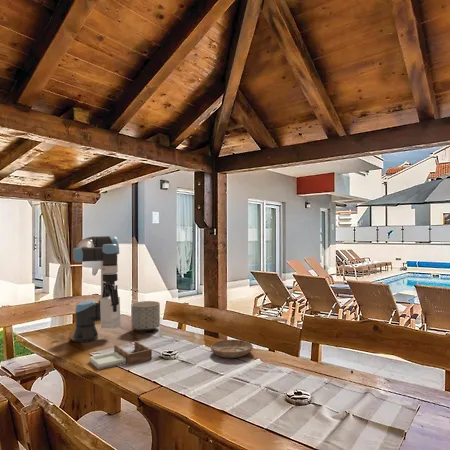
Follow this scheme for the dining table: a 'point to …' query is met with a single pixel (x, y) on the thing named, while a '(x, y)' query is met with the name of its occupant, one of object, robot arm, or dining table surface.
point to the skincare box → (109, 314)
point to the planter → (145, 315)
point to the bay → (140, 355)
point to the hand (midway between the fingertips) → (110, 316)
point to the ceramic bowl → (231, 348)
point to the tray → (107, 360)
